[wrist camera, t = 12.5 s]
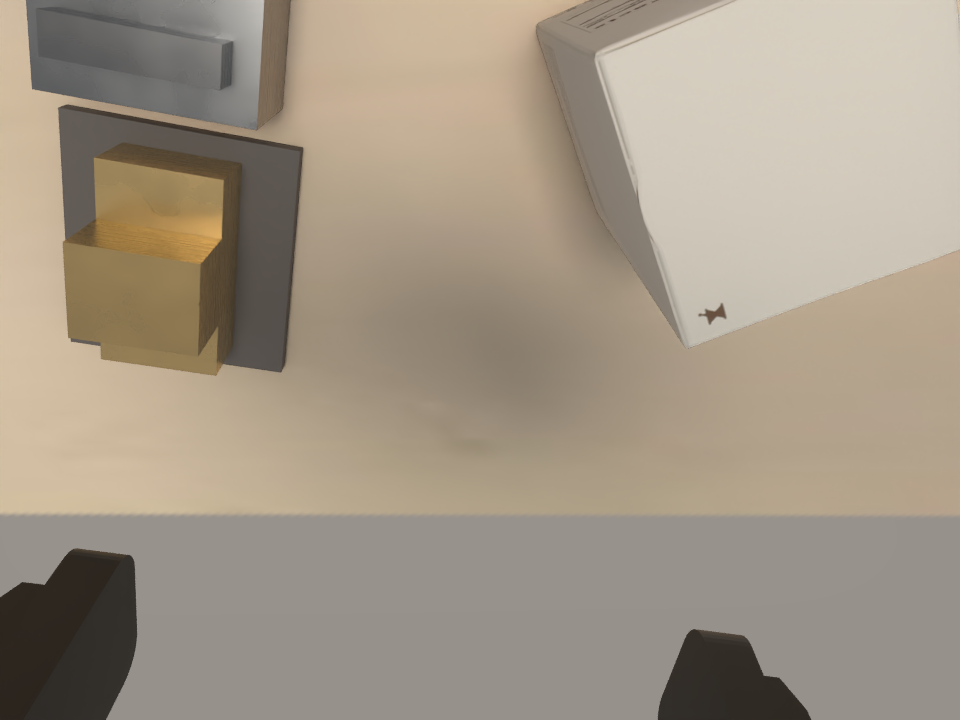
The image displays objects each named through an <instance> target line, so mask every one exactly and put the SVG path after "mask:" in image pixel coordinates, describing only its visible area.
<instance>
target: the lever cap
mask: <svg viewBox="0 0 960 720" xmlns="http://www.w3.org/2000/svg"><path fill="white" fill-rule="evenodd" d="M241 170H242V163H237V162H232V161H226V160H220V159H215V158H209V157H203V156H198V155H192V154H186V153H181V152H175V151H169V150H164V149H158V148H152V147H147V146H141V145H135V144H130V143H124V142H122V143H120V144H119V145H117V146H115V147H113V148H111V149H109V150H107V151H105V152H103V153H101V154H100V155H98V156H96V157H94V179H95V206H96V219H95V220H93V221H92V222H91V223H89V224H88V225H86V226H85V227H83V228H82V229H81V230H79V231H78V232H76V233H75V234H73V235H72V236H71V237H69V238H68V239H66V240H65V241H64V242H63V254H64V272H65V289H66V306H67V324H68V338H73V339H80V340H86V341H93V342H100V343H101V359H104V360H111V361H118V362H125V363H132V364H139V365H146V366H153V367H160V368H167V369H174V370H181V371H188V372H194V373H201V374H208V375H215V376H216V375H217V373H218V371H219V370H220V368H221V366H222V365H223V363H224V361H225V359H226V358H227V356H228V354H229V352H230V351H231V349H232V347H233V333H234V313H235V292H236V272H237V252H238V231H239V211H240V191H241Z"/></svg>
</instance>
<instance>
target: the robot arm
mask: <svg viewBox="0 0 960 720" xmlns="http://www.w3.org/2000/svg"><path fill="white" fill-rule="evenodd" d="M136 639H137V618H136V590H135V566H134V560H133V558H132V557H131V556H130V555H123V554H116V553H108V552H100V551H92V550H85V549H73V550H71V551H70V552H69V553H68V554H67V555H66V556H65V557H64V559H63V560H62V561H61V563H60V564H59V566H58V567H57V568H56V570H55V571H54V573H53V574H52V576H51V577H50V578H49V580H48V581H47V582H46V584H45V585H41V584H33V583H24V582H22V583H20V584H19V585H18V586H16V587H15V588H13V589H12V590H10V591H9V592H8V593H6V594H4V595H3V596H2V597H0V720H106V718H107V716H108V714H109V712H110V710H111V708H112V706H113V704H114V702H115V700H116V698H117V696H118V694H119V693H120V690H121V688H122V687H123V685H124V682H125V680H126V678H127V676H128V673H129V670H130V667H131V664H132V661H133V657H134V652H135V648H136ZM658 720H811V718H810V716H809V714H808V712H807V710H806V709H805V708H804V706H803V705H802V704H801V703H800V702H799V700H798V699H797V698H796V697H795V696H794V695H793V693H792V692H791V691H790V690H789V689H788V687H787V686H786V685H785V684H784V683H783V682H782V681H781V679H780V678H777V677H769V676H763V673H762V670H761V668H760V666H759V663H758V661H757V658H756V656H755V654H754V651H753V649H752V646H751V644H750V643H749V641H748V640H747V638H745V637H744V636H742V635H735V634H726V633H719V632H712V631H704V630H695V629H693V630H691V631H690V632H689V633H688V634H687V636H686V638H685V640H684V643H683V645H682V648H681V650H680V653H679V655H678V658H677V660H676V663H675V665H674V668H673V670H672V673H671V675H670V678H669V680H668V683H667V685H666V688H665V690H664V693H663V695H662V698H661V701H660V706H659V712H658Z"/></svg>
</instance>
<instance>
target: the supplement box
mask: <svg viewBox="0 0 960 720" xmlns="http://www.w3.org/2000/svg"><path fill="white" fill-rule="evenodd" d="M536 33H537V36H538V39H539V42H540V45H541V48H542V51H543V54H544V57H545V60H546V63H547V66H548V69H549V72H550V75H551V78H552V81H553V84H554V87H555V90H556V93H557V96H558V99H559V102H560V105H561V108H562V111H563V114H564V117H565V120H566V123H567V126H568V129H569V132H570V135H571V138H572V141H573V144H574V147H575V150H576V153H577V156H578V159H579V162H580V165H581V168H582V171H583V174H584V177H585V180H586V183H587V186H588V188H589V191H590V194H591V197H592V200H593V203H594V206H595V208H596V211H597V213H598V215H599V216H600V218H601V219H602V221H603V222H604V224H605V225H606V227H607V228H608V230H609V232H610V233H611V235H612V236H613V238H614V239H615V241H616V242H617V244H618V245H619V247H620V248H621V250H622V251H623V253H624V255H625V256H626V258H627V259H628V261H629V262H630V264H631V265H632V267H633V268H634V270H635V271H636V273H637V275H638V276H639V278H640V279H641V281H642V282H643V284H644V285H645V287H646V288H647V290H648V291H649V293H650V295H651V296H652V298H653V299H654V301H655V302H656V304H657V305H658V307H659V308H660V310H661V311H662V313H663V315H664V316H665V318H666V319H667V321H668V322H669V324H670V325H671V327H672V328H673V330H674V331H675V333H676V334H677V336H678V338H679V339H680V341H681V342H682V344H683V345H684V346H685V348H688V349H689V348H691V347H694V346H696V345H699V344H702V343H704V342H707V341H710V340H712V339H715V338H718V337H720V336H723V335H726V334H728V333H731V332H734V331H736V330H739V329H742V328H744V327H747V326H750V325H752V324H755V323H758V322H760V321H763V320H766V319H768V318H771V317H774V316H776V315H779V314H782V313H785V312H787V311H790V310H793V309H795V308H798V307H801V306H803V305H806V304H809V303H811V302H814V301H817V300H819V299H822V298H825V297H828V296H831V295H834V294H836V293H839V292H842V291H845V290H848V289H850V288H853V287H856V286H859V285H862V284H865V283H868V282H871V281H874V280H877V279H879V278H882V277H885V276H888V275H891V274H894V273H897V272H900V271H903V270H905V269H908V268H911V267H914V266H917V265H920V264H923V263H926V262H929V261H931V260H934V259H936V258H939V257H942V256H944V255H947V254H949V253H952V252H955V251H957V250H960V24H959V15H958V6H957V0H589V1H587V2H584V3H582V4H580V5H578V6H575V7H573V8H571V9H568V10H566V11H564V12H562V13H559V14H557V15H555V16H553V17H551V18H548V19H546V20H544V21H542V22H540V23H538V24H537V27H536Z"/></svg>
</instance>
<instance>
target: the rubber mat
mask: <svg viewBox="0 0 960 720" xmlns="http://www.w3.org/2000/svg"><path fill="white" fill-rule="evenodd" d="M58 110H59V129H60V147H61V166H62V184H63V203H64V221H65V240H66V239H68V238H69V237H71V236H72V235H73V234H75V233H76V232H78V231H79V230H81V229H82V228H83V227H85V226H86V225H88V224H89V223H91V222H92V221H93V220H95V219H96V206H95V179H94V157H96V156H98V155H100V154H101V153H103V152H105V151H107V150H109V149H111V148H113V147H115V146H117V145H119V144H120V143H122V142H124V143H130V144H135V145H141V146H147V147H152V148H158V149H164V150H169V151H175V152H181V153H186V154H192V155H198V156H203V157H209V158H215V159H220V160H226V161H232V162H237V163H242V170H241V191H240V211H239V231H238V252H237V272H236V292H235V313H234V333H233V347H232V349H231V351H230V352H229V354H228V356H227V358H226V359H225V361H224V363H223V364H227V365H234V366H241V367H247V368H254V369H261V370H268V371H275V372H282V369H283V367H284V363H285V351H286V340H287V328H288V316H289V305H290V293H291V281H292V270H293V258H294V246H295V235H296V223H297V211H298V200H299V188H300V176H301V164H302V153H303V148H302V147H297V146H291V145H286V144H280V143H275V142H269V141H264V140H258V139H253V138H247V137H242V136H236V135H231V134H225V133H220V132H214V131H209V130H203V129H198V128H192V127H187V126H181V125H176V124H170V123H165V122H159V121H154V120H148V119H143V118H137V117H132V116H126V115H121V114H116V113H110V112H105V111H99V110H94V109H88V108H83V107H77V106H72V105H64V106H62V107H59V108H58ZM71 342H78V343H85V344H91V345H98V346H101V343H100V342H93V341H86V340H80V339H73V338H71Z"/></svg>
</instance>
